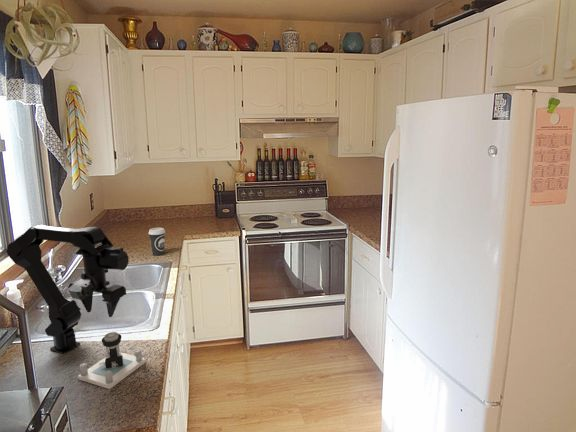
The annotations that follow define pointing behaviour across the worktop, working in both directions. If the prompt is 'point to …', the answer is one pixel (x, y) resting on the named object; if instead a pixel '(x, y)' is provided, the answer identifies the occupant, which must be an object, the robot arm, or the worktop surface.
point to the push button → (112, 350)
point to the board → (111, 370)
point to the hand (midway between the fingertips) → (99, 314)
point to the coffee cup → (157, 241)
